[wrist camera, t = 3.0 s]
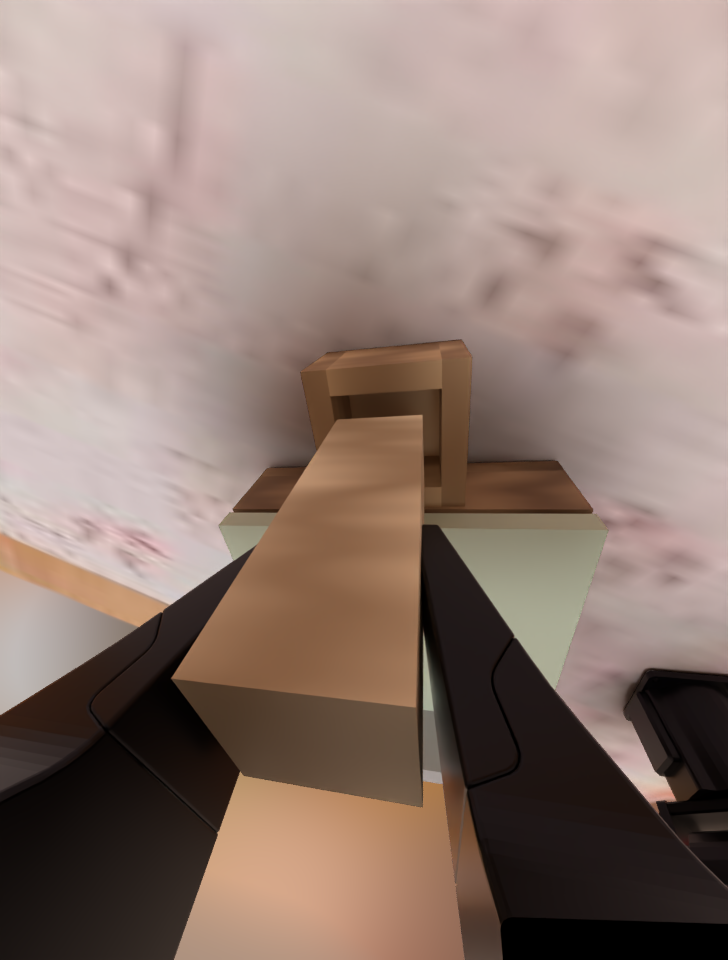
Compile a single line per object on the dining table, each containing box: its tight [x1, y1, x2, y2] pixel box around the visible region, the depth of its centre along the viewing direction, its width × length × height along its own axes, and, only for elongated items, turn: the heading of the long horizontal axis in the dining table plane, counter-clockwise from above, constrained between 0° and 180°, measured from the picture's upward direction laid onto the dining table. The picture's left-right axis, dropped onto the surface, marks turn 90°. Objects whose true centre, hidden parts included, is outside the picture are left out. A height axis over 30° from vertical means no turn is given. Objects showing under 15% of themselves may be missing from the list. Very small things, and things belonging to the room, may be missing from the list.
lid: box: [219, 513, 608, 784], centre depth 17 cm, size 16×19×4 cm
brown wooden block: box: [171, 415, 424, 807], centre depth 8 cm, size 3×3×9 cm
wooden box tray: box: [233, 340, 593, 514], centre depth 20 cm, size 16×25×4 cm, turn 7°
